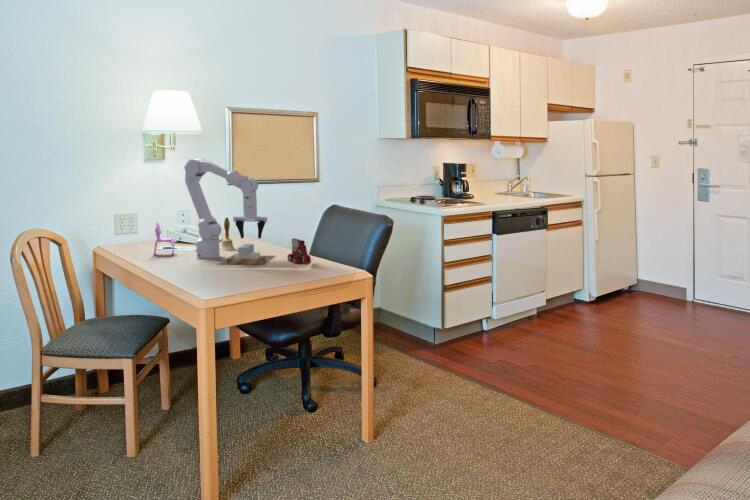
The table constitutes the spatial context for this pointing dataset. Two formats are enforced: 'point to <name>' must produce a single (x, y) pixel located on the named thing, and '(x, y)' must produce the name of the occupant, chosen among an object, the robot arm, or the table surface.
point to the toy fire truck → (299, 252)
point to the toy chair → (161, 238)
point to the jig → (246, 261)
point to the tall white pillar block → (247, 256)
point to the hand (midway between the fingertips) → (251, 238)
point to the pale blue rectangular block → (246, 249)
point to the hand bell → (227, 238)
